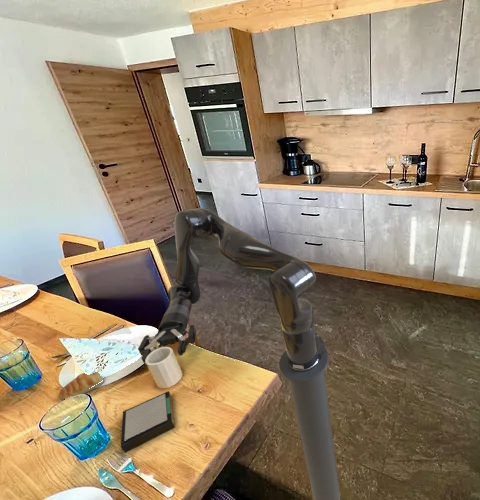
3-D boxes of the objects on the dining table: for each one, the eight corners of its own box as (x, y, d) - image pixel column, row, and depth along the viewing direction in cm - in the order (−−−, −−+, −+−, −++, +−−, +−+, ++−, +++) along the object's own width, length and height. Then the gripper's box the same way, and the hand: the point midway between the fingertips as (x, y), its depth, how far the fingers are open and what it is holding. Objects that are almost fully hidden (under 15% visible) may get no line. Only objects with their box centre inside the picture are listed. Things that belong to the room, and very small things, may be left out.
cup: (181, 365, 86) (171, 343, 82) (183, 380, 81) (173, 357, 77) (156, 376, 83) (145, 353, 79) (157, 392, 78) (145, 369, 74)
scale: (171, 396, 77) (168, 389, 75) (175, 427, 69) (171, 420, 68) (126, 417, 72) (122, 410, 71) (124, 453, 64) (119, 445, 63)
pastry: (63, 407, 75) (56, 397, 74) (59, 393, 79) (52, 384, 78) (107, 382, 82) (101, 373, 80) (100, 371, 86) (94, 361, 84)
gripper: (146, 317, 90) (128, 354, 76) (195, 306, 94) (186, 340, 80) (154, 335, 94) (138, 374, 80) (202, 324, 97) (194, 360, 83)
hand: (162, 357), depth 80 cm, fingers open, 8 cm apart
